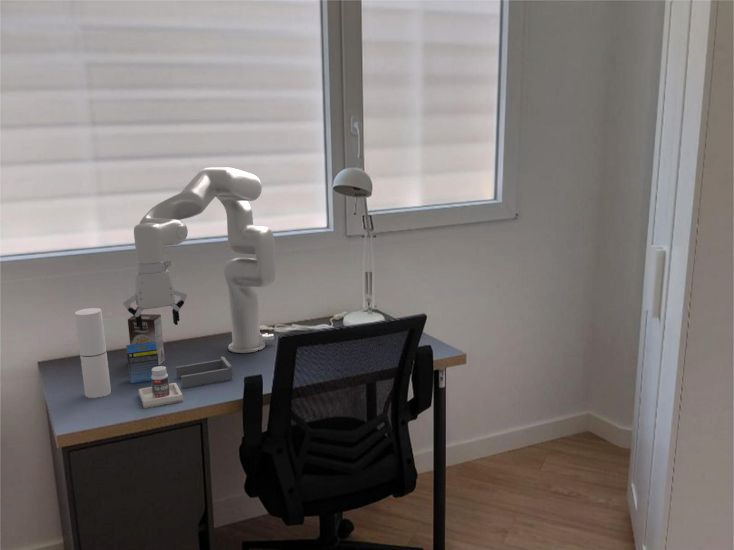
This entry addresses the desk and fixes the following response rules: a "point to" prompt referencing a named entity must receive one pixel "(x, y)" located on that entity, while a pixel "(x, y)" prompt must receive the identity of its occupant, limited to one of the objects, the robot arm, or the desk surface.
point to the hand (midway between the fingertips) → (158, 326)
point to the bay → (204, 372)
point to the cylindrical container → (93, 352)
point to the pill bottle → (160, 382)
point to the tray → (149, 401)
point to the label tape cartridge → (142, 361)
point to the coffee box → (147, 333)
